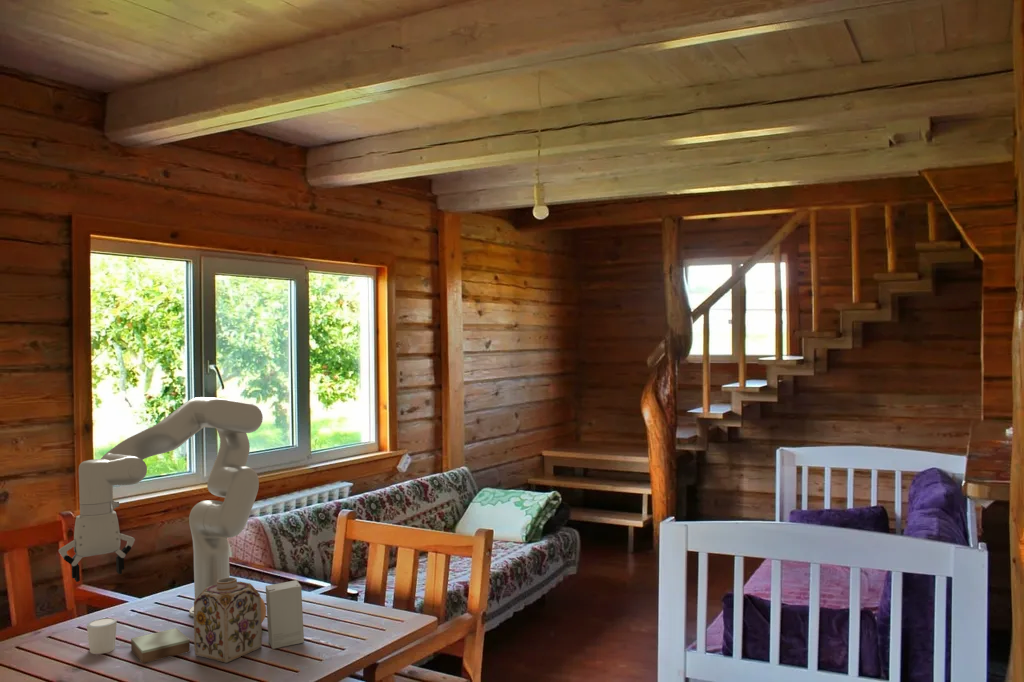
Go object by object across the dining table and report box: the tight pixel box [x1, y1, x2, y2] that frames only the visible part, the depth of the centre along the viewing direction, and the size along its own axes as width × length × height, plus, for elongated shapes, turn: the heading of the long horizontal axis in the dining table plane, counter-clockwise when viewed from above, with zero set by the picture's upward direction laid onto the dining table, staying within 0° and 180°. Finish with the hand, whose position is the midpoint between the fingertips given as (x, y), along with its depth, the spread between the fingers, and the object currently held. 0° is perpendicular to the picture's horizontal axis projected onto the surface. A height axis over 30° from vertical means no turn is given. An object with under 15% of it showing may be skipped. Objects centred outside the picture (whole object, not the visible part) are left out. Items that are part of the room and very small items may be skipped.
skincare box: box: [265, 579, 305, 650], centre depth 208 cm, size 8×6×15 cm
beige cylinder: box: [86, 617, 118, 655], centre depth 206 cm, size 7×7×7 cm
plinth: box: [130, 627, 191, 664], centre depth 204 cm, size 11×11×3 cm
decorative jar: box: [193, 577, 263, 664], centre depth 203 cm, size 12×12×18 cm
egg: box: [260, 596, 267, 624], centre depth 220 cm, size 7×7×9 cm
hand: (98, 576), depth 206 cm, fingers open, 9 cm apart
